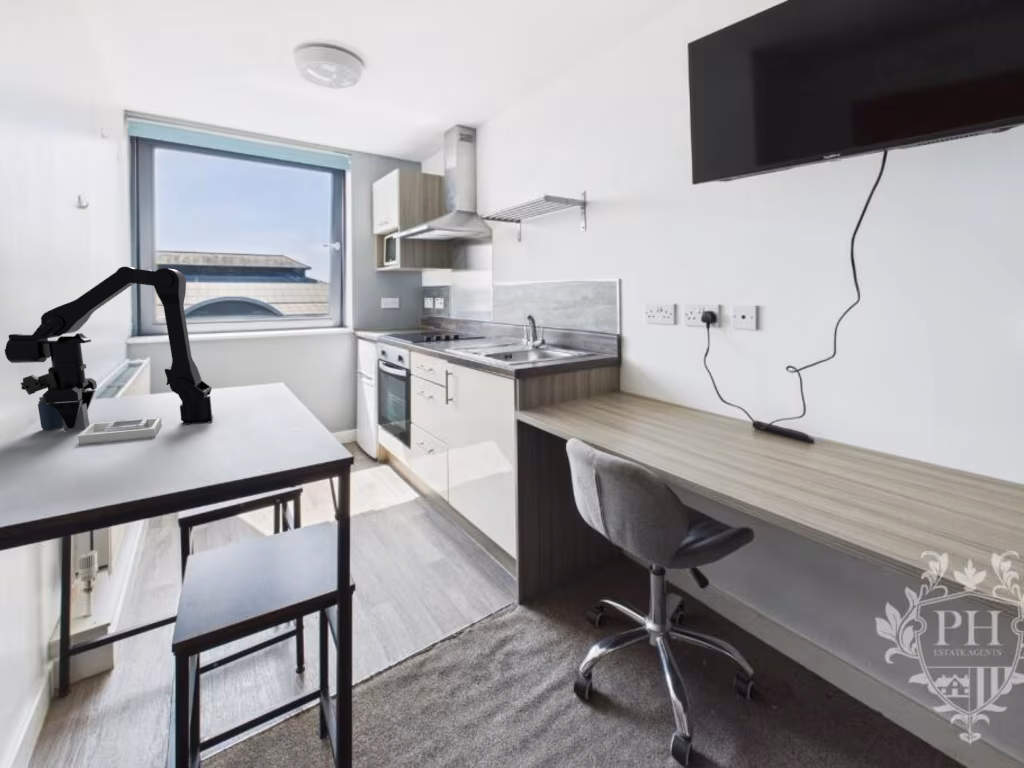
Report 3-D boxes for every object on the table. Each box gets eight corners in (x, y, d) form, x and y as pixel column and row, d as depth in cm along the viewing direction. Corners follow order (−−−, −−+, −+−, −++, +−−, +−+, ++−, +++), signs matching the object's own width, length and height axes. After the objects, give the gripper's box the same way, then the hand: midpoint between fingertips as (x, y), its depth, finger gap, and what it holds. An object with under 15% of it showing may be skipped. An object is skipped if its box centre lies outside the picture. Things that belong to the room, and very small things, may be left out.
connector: (89, 425, 126) (85, 399, 124) (85, 429, 122) (81, 403, 121) (69, 427, 124) (65, 401, 123) (64, 431, 120) (60, 404, 119)
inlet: (149, 427, 124) (148, 418, 124) (144, 434, 118) (143, 425, 117) (112, 430, 121) (111, 421, 120) (105, 438, 114) (104, 428, 114)
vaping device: (69, 425, 126) (62, 379, 123) (48, 430, 120) (41, 382, 118) (60, 425, 126) (53, 378, 124) (38, 430, 121) (31, 382, 119)
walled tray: (161, 425, 127) (161, 417, 127) (155, 436, 117) (154, 428, 117) (92, 431, 121) (91, 423, 120) (78, 444, 110) (77, 435, 110)
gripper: (36, 358, 124) (46, 418, 127) (7, 368, 108) (18, 437, 111) (93, 356, 130) (101, 414, 132) (72, 366, 113) (82, 431, 116)
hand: (76, 423), depth 123 cm, fingers open, 9 cm apart
